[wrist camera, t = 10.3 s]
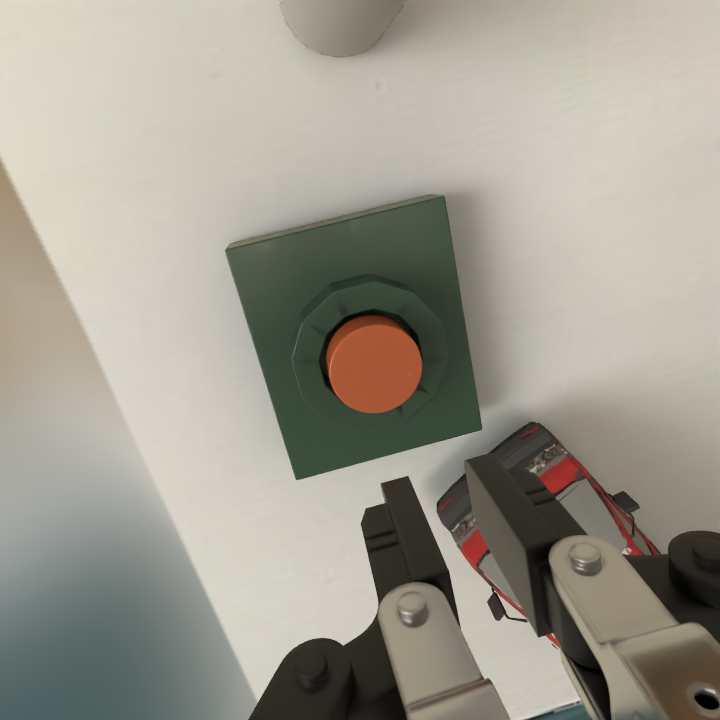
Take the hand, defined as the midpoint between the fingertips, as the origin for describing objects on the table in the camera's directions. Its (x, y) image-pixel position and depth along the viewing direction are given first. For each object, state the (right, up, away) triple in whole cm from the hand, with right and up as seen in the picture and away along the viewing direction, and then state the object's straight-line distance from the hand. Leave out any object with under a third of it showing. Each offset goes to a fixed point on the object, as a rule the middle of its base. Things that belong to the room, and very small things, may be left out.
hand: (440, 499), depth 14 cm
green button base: (-2, +5, +14) cm, 15 cm away
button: (-2, +4, +11) cm, 11 cm away
